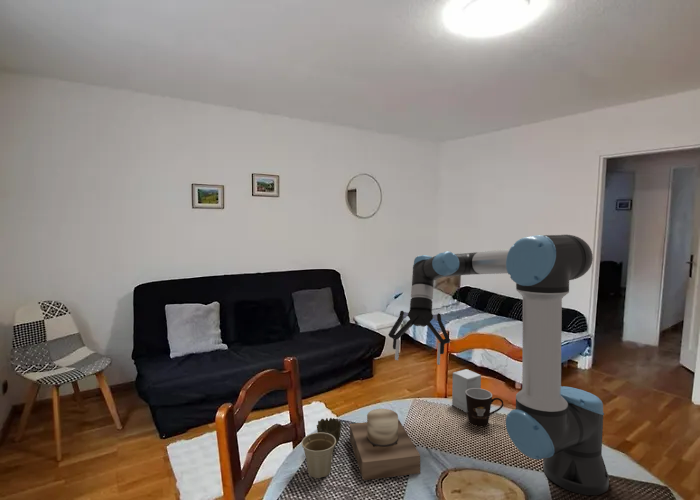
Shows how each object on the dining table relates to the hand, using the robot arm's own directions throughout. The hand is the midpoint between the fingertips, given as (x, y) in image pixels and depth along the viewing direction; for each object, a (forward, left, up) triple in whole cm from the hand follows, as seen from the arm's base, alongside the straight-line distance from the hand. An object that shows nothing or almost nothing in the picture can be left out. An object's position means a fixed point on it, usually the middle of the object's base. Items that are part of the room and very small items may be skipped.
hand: (417, 362), depth 127 cm
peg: (-12, +15, -22) cm, 29 cm away
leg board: (-12, +15, -23) cm, 30 cm away
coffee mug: (-1, -23, -23) cm, 32 cm away
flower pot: (-16, +34, -23) cm, 44 cm away
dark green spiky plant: (-6, +30, -23) cm, 38 cm away
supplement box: (+11, -23, -23) cm, 34 cm away
